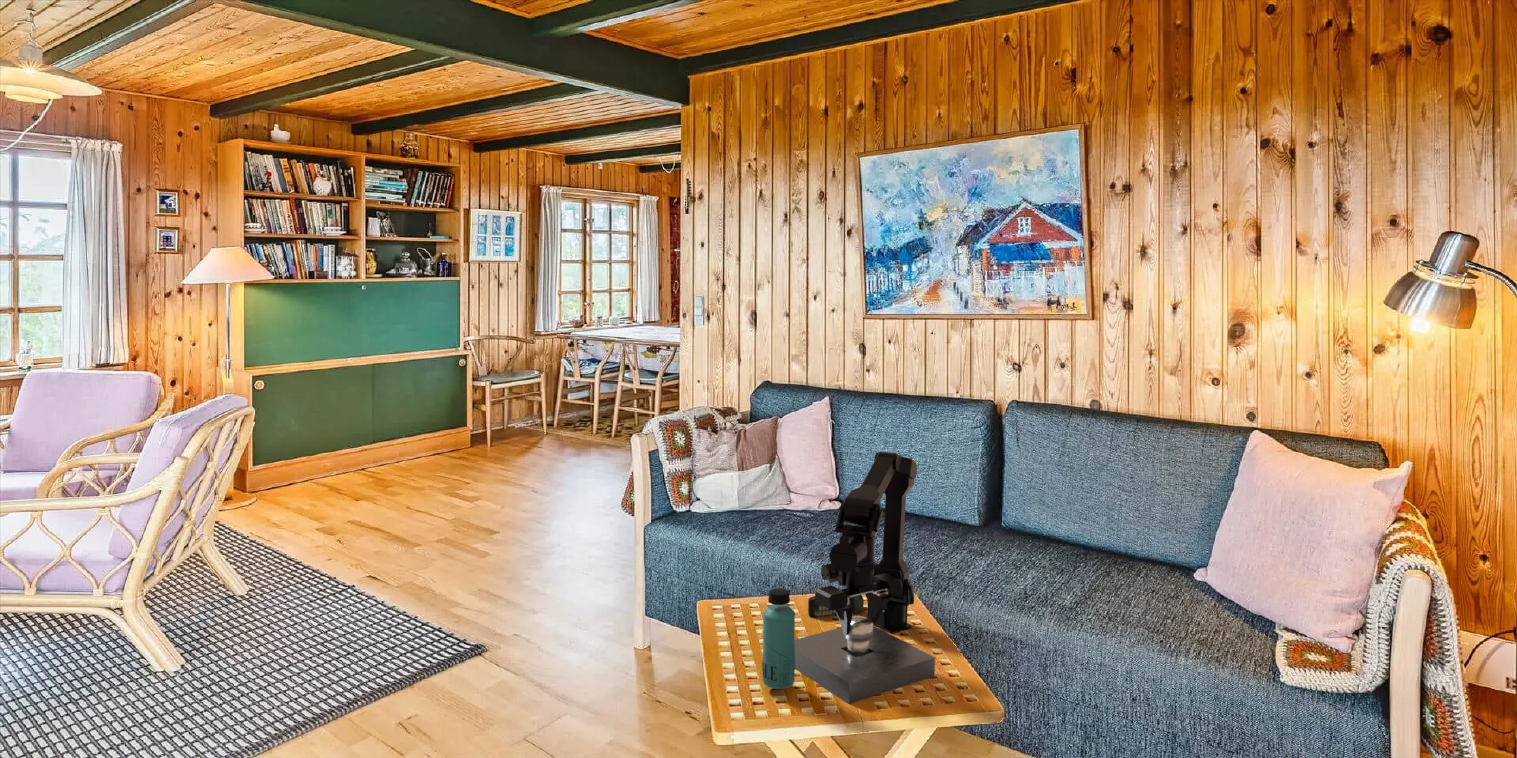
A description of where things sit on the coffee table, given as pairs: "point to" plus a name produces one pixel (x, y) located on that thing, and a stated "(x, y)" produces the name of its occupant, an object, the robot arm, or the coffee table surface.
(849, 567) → the robot arm
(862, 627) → the end cover
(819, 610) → the mobile phone
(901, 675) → the bore block
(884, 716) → the coffee table surface
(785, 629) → the beverage bottle
